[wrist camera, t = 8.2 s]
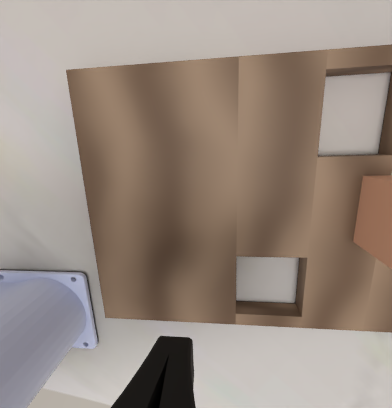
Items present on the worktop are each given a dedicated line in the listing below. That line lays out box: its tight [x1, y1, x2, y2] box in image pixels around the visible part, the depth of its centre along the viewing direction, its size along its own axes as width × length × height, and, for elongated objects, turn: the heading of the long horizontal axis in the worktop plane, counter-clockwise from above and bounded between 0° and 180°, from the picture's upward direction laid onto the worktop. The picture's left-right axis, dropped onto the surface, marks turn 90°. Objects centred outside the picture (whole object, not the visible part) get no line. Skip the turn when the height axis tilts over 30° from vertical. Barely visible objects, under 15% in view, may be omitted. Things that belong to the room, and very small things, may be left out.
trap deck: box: [66, 45, 392, 332], centre depth 16 cm, size 25×19×2 cm
